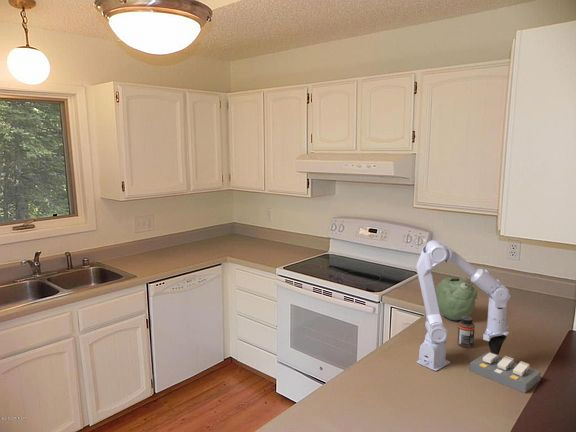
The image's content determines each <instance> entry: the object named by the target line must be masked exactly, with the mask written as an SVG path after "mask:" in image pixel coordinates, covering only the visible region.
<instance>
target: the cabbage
mask: <svg viewBox="0 0 576 432" xmlns="http://www.w3.org/2000/svg"><path fill="white" fill-rule="evenodd" d="M473 285H474V283H472V282H471V281H469V278H468V277H466V276H463V277H450V276H447V277H445V278H443V279H441V281H440V282H438V284H437V286H436V287H435V292H436V297H437V302H438V306H439V311H440V315H442V316H443V317H445V318H446V319H448V320H450V321H461V317H462V316H468V317H469V315H471V313H473V311H474V310H475V307H476V300H477V299H478V290H477V289H476V288H475V287H474V286H473Z"/></svg>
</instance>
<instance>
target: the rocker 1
mask: <svg viewBox="0 0 576 432" xmlns="http://www.w3.org/2000/svg"><path fill="white" fill-rule="evenodd" d="M487 353H488V354H487V355H485V356H484V357H483V361H485V362H488V363H490V364H491V363H492V362H493V361H495V358H498V357H500V356H499V354H500V353H499V354H497V355H496V354H493V353H490V351H489V352H487Z"/></svg>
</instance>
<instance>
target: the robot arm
mask: <svg viewBox="0 0 576 432" xmlns="http://www.w3.org/2000/svg"><path fill="white" fill-rule="evenodd" d="M442 263H445V264H454V265H455V266H456V267H458V268H459V269H460V270H461V271H464V272H465V273H466V274H468V275H469V277H470V283H472V284H473V285H475V286H477V287H478V288H479V289H480V290H481V291H482V292H484V293H486V294H487V295H488V309H487V321H486V323H487V324H486V328H485V332H484V333H483V335H482V337H483V338H482V340H483V341H487V344H488V348H489V352H490V353H493V354H496V355H497V354H500V351H501V348H502V346H503V343H504V341H505V340H506V339H507V336H508V335H510V334H509V333H510V332H509V331H508V329H509V324H507V311H508V310H507V309H508V302H509V300H510V299H511V294H510V290H509V289H508V288H507V287H506V286H505V285H504V284H503V283H502V282H501V280H499V278H498V279H497V278H496V277H493V276H492V275H491V274H490V271H488V270H487V269H483V268H476V267H475V266H473V265H472V264H471V263H470V262H468V261H467V260H466V259H465V258H463V257H462V256H461V255H460V254H458V253H457V252H456V251H455V250H454V249H452V248H451V247H449V246H447V245H445V244H443V243H442V242H440V241H439V240H437V239H431V240H430V241H427V242H426V244H425V245H424V246H423V247H422V248H421V253H420V255H419V257H418V260H417V262H416V266H415V267H416V268H415V269H416V272H417V278H418V282H419V286H420V291H421V296H422V301H423V305H424V306H423V307H424V310H425V318H426V321H425V323H424V326H425V328H426V331H427V332H426V334H425V335H424V341H423V342H422V343H421V344H420V346H419V352H418V360H417V361H416V363H417V364H418V365H421V366H423V367H425V368H428V369H430V370H433V371H435V372H437V371H438V370H441V369H443V368H444V367H446V366H448V365H449V364H451V361H449V360H448V359H446V354H447V340H448V337H449V333H448V332H449V331H448V330H447V329H446V328H445V325H444V322H443V319H442V316H441V315H442V314H441V313H440V311H439V306H438V302H437V297H436V292H435V290H436V287H435V283H434V278H433V274H432V272H433V271H434V269H435V268H437V267H438V266H439V265H441V264H442Z"/></svg>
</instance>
